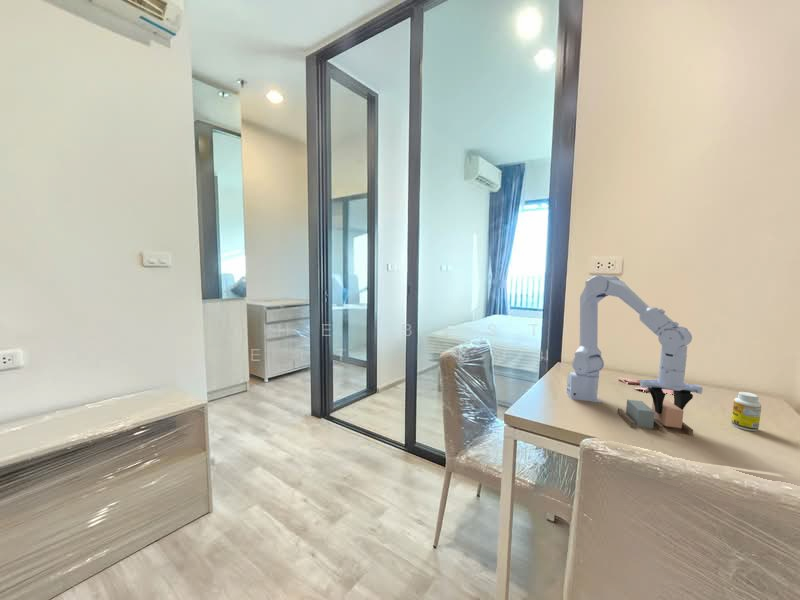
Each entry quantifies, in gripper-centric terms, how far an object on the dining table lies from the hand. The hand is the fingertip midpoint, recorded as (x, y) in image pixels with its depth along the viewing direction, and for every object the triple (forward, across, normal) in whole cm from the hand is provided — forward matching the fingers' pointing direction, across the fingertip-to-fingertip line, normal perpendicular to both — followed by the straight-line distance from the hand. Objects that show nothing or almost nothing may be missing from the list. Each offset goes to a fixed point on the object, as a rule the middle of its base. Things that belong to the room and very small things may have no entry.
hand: (667, 413), depth 96 cm
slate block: (+3, -7, 0) cm, 8 cm away
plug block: (+2, 0, 0) cm, 2 cm away
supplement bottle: (+4, +23, +7) cm, 24 cm away
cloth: (+5, +9, +39) cm, 40 cm away
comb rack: (+4, -4, 0) cm, 5 cm away
